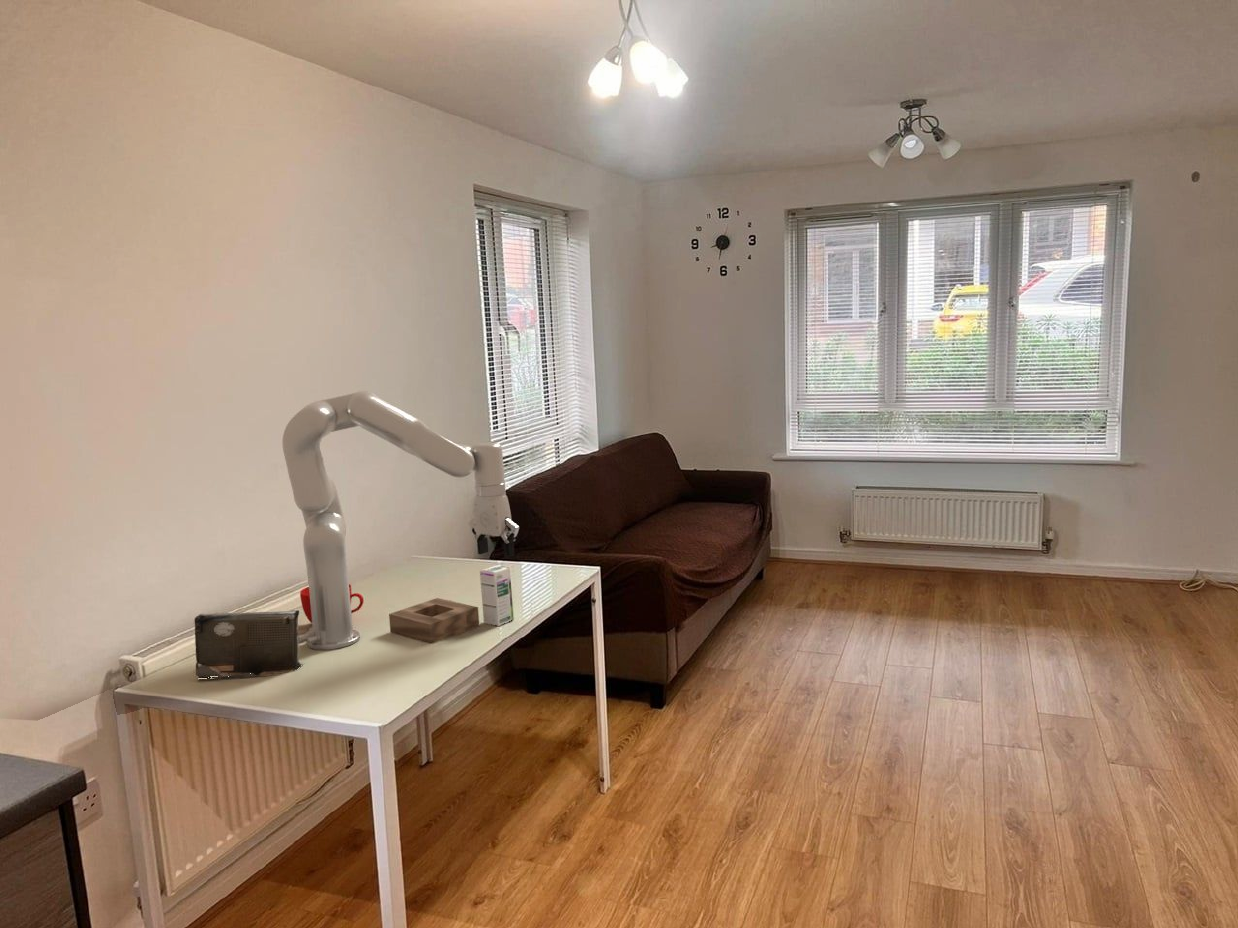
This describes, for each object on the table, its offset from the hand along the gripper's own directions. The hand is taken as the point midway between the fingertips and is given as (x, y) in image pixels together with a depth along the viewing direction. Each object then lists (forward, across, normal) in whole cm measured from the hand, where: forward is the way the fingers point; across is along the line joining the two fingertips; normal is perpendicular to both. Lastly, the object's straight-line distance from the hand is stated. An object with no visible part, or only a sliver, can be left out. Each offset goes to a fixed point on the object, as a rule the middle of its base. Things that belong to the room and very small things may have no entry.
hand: (496, 555), depth 228 cm
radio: (+17, -25, -56) cm, 64 cm away
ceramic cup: (+17, -36, -26) cm, 48 cm away
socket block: (+18, -10, -14) cm, 25 cm away
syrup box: (+18, 0, -1) cm, 18 cm away
